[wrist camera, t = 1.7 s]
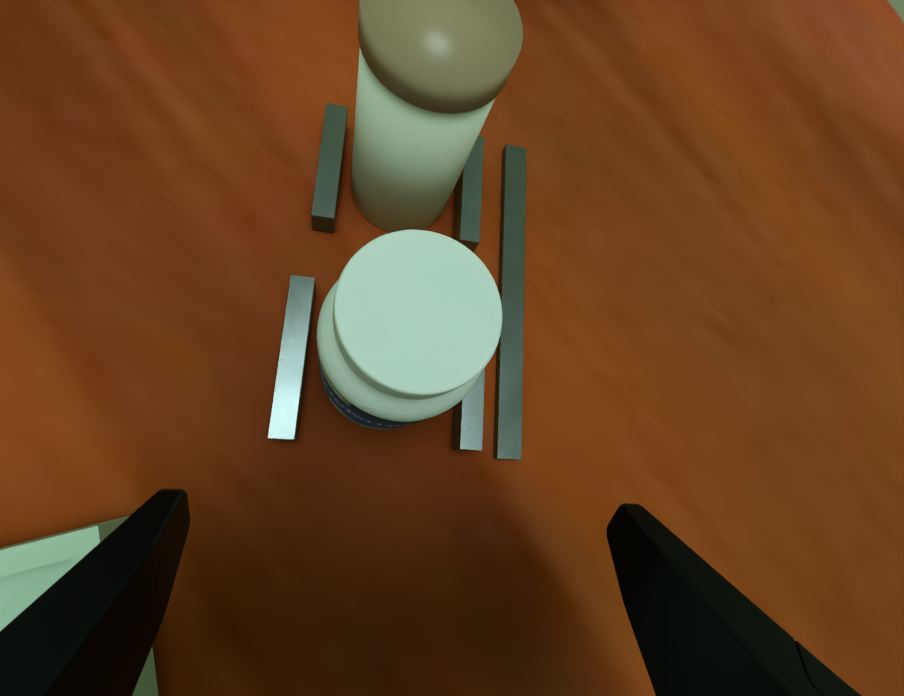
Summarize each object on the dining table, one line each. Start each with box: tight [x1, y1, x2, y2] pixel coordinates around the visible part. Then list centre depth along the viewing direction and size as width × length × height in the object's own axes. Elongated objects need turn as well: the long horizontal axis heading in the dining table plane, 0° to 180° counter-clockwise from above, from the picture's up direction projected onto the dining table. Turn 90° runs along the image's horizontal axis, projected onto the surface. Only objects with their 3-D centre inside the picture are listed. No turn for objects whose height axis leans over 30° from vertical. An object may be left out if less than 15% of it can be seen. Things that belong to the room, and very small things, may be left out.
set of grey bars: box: [268, 103, 526, 460], centre depth 22 cm, size 17×11×2 cm, turn 177°
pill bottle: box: [317, 229, 502, 429], centre depth 17 cm, size 6×6×10 cm
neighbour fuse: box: [351, 0, 523, 233], centre depth 19 cm, size 5×5×10 cm
